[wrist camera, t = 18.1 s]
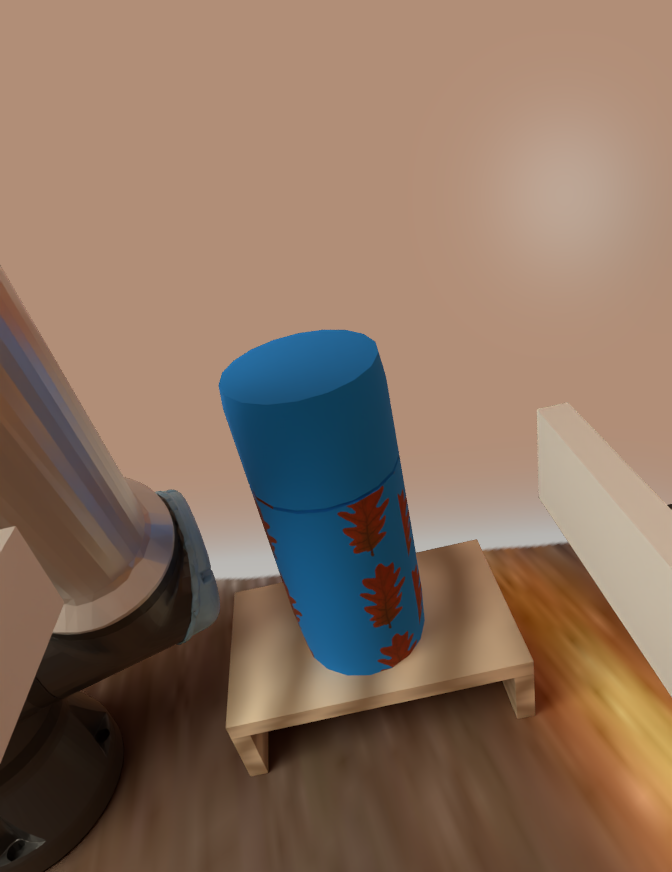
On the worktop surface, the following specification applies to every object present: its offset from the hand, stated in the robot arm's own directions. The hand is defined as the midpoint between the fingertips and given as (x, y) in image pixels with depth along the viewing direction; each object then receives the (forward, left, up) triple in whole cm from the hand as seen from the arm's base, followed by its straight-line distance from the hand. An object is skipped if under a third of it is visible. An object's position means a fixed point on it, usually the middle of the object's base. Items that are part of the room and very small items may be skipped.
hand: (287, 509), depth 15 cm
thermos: (-12, +20, -31) cm, 39 cm away
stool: (-11, +20, -38) cm, 44 cm away
